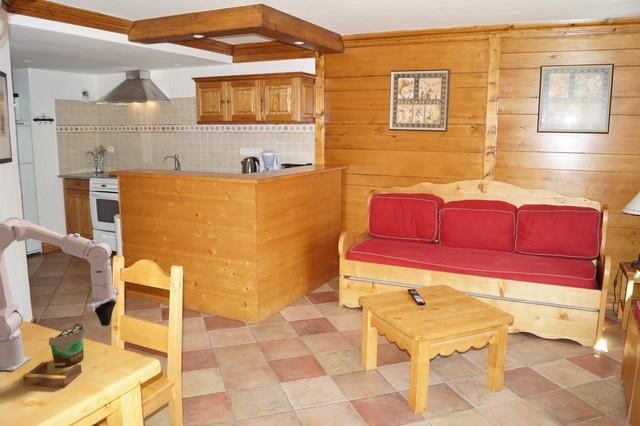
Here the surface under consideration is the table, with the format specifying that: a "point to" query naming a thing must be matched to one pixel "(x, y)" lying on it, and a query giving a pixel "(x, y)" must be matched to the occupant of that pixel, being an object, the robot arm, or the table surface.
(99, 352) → the table surface
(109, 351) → the table surface
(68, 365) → the food container
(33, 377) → the dock bay
